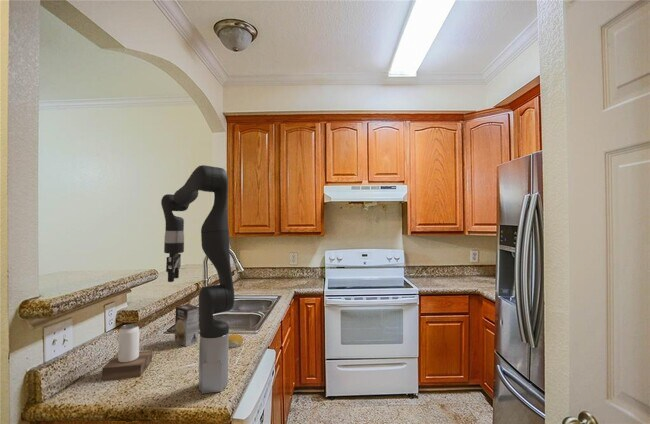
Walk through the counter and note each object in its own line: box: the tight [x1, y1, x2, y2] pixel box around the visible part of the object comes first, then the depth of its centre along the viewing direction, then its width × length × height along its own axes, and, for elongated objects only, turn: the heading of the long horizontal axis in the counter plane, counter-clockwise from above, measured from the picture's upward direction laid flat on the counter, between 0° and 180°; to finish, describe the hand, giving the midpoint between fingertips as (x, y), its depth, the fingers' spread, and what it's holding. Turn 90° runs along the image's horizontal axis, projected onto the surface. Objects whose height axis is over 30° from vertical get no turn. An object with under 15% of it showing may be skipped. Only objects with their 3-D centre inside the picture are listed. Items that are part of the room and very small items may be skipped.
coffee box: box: [174, 303, 199, 347], centre depth 141 cm, size 9×6×16 cm
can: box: [117, 323, 140, 363], centre depth 114 cm, size 6×6×12 cm
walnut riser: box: [101, 350, 153, 381], centre depth 114 cm, size 12×12×4 cm
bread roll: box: [228, 333, 244, 349], centre depth 139 cm, size 8×9×4 cm
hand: (173, 280), depth 131 cm, fingers open, 8 cm apart
